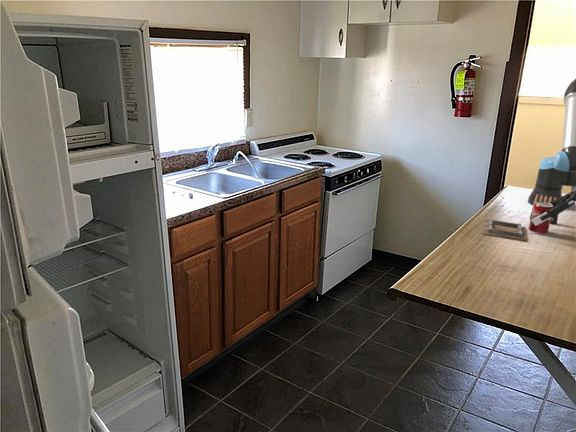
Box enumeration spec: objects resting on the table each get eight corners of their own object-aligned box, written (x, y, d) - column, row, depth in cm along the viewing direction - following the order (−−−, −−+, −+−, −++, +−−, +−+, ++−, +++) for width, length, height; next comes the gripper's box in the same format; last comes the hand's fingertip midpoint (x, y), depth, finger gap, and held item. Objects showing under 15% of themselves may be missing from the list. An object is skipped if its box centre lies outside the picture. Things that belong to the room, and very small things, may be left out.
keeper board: (484, 222, 207) (484, 217, 206) (524, 228, 201) (525, 223, 200) (483, 234, 193) (484, 229, 192) (526, 241, 187) (527, 236, 186)
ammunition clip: (556, 224, 208) (563, 198, 204) (555, 225, 207) (562, 198, 203) (530, 218, 214) (535, 192, 210) (529, 219, 213) (534, 193, 209)
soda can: (528, 233, 197) (534, 205, 193) (527, 227, 203) (533, 200, 199) (548, 236, 194) (555, 208, 190) (546, 230, 200) (553, 203, 196)
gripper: (591, 206, 175) (537, 234, 187) (593, 191, 195) (544, 217, 207) (578, 189, 175) (525, 219, 188) (581, 176, 195) (533, 203, 208)
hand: (535, 218), depth 197 cm, fingers open, 13 cm apart
